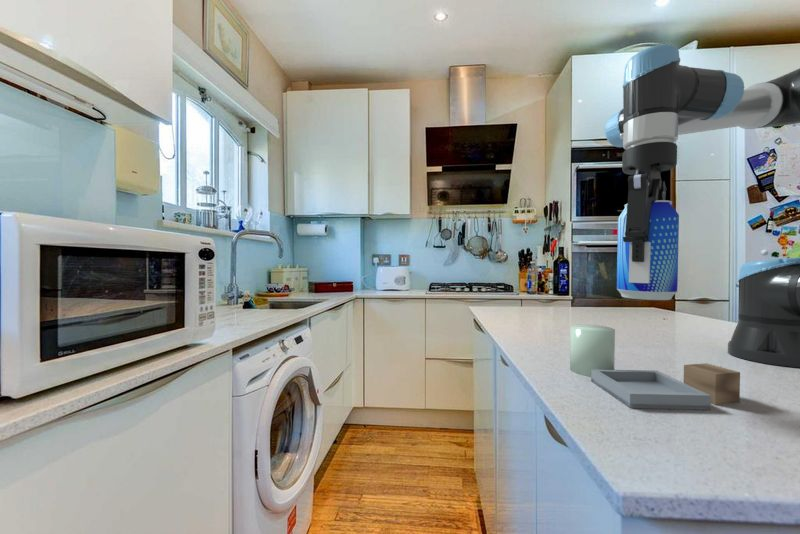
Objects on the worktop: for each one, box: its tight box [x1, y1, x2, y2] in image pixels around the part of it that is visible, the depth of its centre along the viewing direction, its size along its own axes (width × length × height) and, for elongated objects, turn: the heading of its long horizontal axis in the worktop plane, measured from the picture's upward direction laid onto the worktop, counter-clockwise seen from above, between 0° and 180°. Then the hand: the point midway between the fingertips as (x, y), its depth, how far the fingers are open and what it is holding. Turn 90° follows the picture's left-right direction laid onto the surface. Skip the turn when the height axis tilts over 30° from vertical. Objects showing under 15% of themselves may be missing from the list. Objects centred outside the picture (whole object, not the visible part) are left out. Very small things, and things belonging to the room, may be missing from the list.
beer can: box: [616, 199, 680, 301], centre depth 59 cm, size 8×8×16 cm
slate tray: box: [590, 369, 712, 411], centre depth 60 cm, size 12×12×2 cm
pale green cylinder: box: [569, 323, 616, 378], centre depth 72 cm, size 8×8×9 cm
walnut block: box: [683, 362, 741, 406], centre depth 58 cm, size 5×5×5 cm
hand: (646, 281), depth 59 cm, fingers closed on beer can, 8 cm apart
